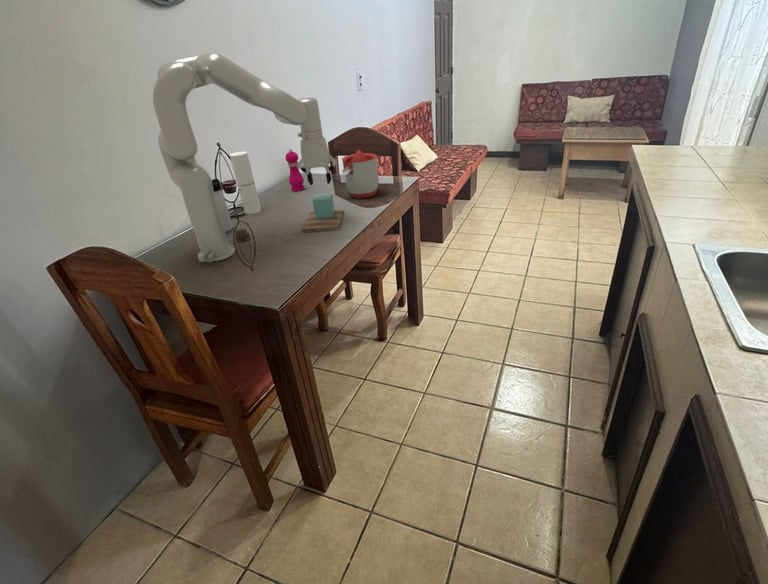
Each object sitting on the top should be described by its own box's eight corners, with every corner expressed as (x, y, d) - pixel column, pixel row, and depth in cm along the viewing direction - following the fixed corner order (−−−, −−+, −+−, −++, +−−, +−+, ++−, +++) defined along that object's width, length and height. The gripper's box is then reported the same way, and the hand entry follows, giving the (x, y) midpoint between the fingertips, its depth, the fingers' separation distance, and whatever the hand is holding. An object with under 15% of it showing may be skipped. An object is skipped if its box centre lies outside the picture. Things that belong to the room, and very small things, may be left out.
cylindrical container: (256, 214, 182) (242, 155, 169) (242, 214, 184) (226, 156, 171) (264, 208, 188) (250, 151, 175) (249, 208, 190) (234, 151, 177)
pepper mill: (288, 192, 206) (279, 150, 196) (295, 187, 212) (287, 146, 202) (301, 192, 204) (293, 150, 194) (307, 187, 210) (300, 146, 200)
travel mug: (237, 227, 170) (223, 178, 160) (227, 234, 165) (212, 183, 154) (224, 227, 172) (209, 178, 161) (214, 233, 166) (198, 183, 156)
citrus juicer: (336, 197, 192) (330, 153, 182) (364, 187, 202) (359, 144, 192) (359, 203, 182) (354, 156, 172) (387, 192, 192) (383, 147, 182)
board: (339, 229, 158) (339, 226, 158) (303, 232, 159) (302, 228, 158) (344, 213, 174) (343, 209, 173) (311, 215, 175) (310, 212, 174)
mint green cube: (332, 217, 166) (329, 199, 162) (315, 218, 166) (312, 200, 163) (334, 211, 172) (331, 193, 168) (318, 212, 172) (315, 194, 168)
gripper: (286, 139, 151) (296, 188, 160) (334, 134, 150) (341, 184, 159) (291, 135, 157) (300, 182, 166) (336, 131, 156) (343, 179, 165)
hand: (320, 183), depth 162 cm, fingers open, 6 cm apart
